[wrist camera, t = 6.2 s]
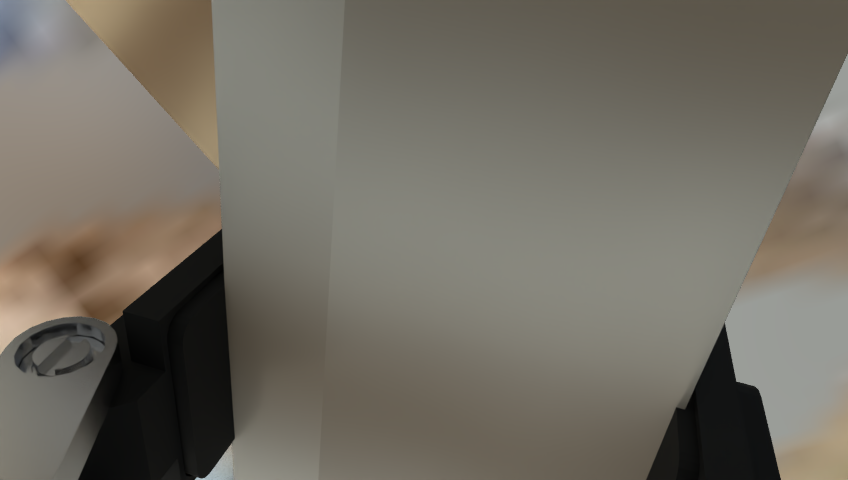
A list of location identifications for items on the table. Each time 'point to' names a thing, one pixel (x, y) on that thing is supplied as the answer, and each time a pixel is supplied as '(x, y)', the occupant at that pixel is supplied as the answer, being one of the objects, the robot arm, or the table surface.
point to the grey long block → (495, 221)
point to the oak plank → (165, 56)
